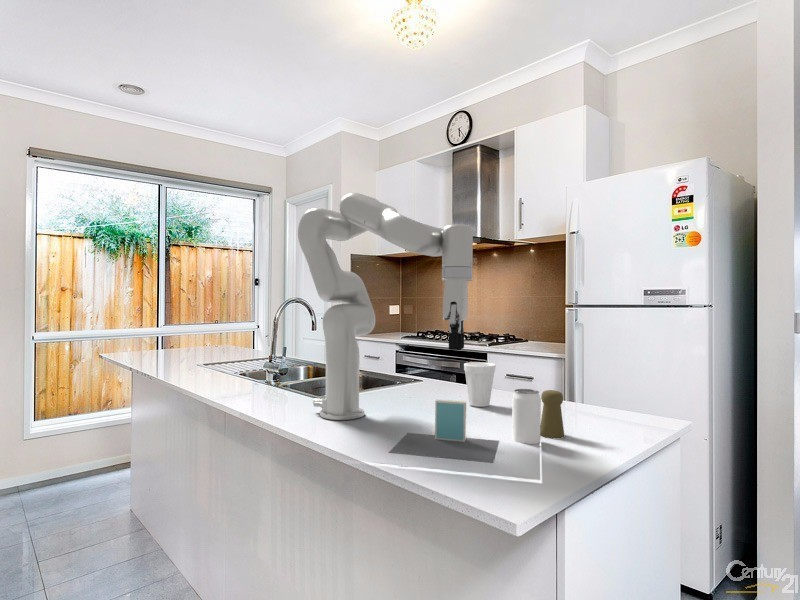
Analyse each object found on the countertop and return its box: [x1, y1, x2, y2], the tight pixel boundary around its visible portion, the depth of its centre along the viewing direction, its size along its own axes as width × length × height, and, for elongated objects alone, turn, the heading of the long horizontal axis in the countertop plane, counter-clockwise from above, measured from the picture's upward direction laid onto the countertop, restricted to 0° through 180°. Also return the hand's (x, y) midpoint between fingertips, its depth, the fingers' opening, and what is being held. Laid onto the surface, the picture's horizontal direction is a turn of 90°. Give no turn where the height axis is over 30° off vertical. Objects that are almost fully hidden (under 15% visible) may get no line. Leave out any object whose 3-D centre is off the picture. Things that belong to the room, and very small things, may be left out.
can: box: [511, 388, 542, 445], centre depth 115 cm, size 6×6×12 cm
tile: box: [434, 399, 467, 442], centre depth 114 cm, size 7×2×9 cm, turn 74°
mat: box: [388, 432, 500, 464], centre depth 109 cm, size 22×16×1 cm
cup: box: [463, 361, 496, 408], centre depth 154 cm, size 10×10×13 cm
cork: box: [540, 389, 565, 439], centre depth 121 cm, size 6×6×11 cm
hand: (456, 348), depth 121 cm, fingers open, 2 cm apart
